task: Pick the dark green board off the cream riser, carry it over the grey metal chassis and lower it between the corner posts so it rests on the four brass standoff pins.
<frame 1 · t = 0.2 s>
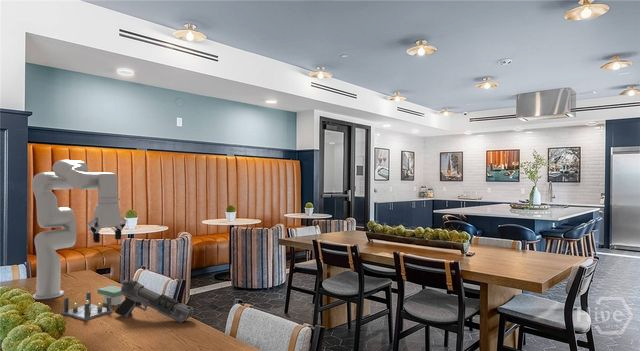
hand: (107, 240, 172), 30 cm above the table, tool pointing down, fingers open, 9 cm apart
riser: (112, 303, 182), on the table
firearm: (153, 319, 163), on the table
board: (112, 293, 182), point 4 cm above the table, touching riser
chassis: (87, 312, 169), on the table
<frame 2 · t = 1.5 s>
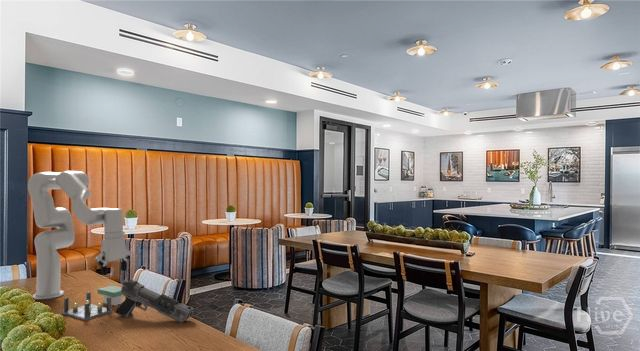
hand: (114, 272, 182), 14 cm above the table, tool pointing down, fingers open, 9 cm apart
nothing on the table moved.
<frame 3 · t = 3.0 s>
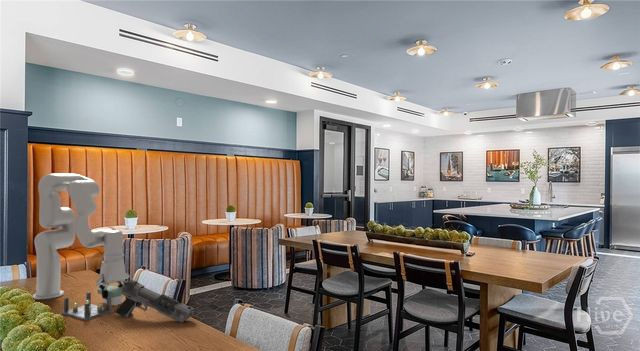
hand: (112, 295, 182), 3 cm above the table, tool pointing down, fingers closed on board, 7 cm apart
board: (112, 293, 182), point 5 cm above the table, touching gripper, riser
everything else where it was.
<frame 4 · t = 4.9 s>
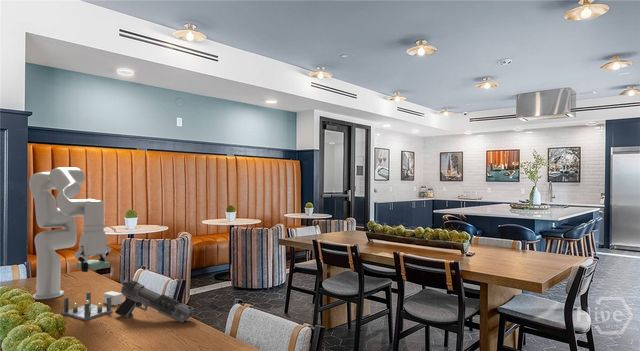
hand: (93, 269, 172), 18 cm above the table, tool pointing down, fingers closed on board, 7 cm apart
board: (93, 266, 172), point 19 cm above the table, touching gripper
everything else where it was.
when the fingers open (4 cm above the table, at t = 7.3 s): board drops 1 cm, resting on chassis.
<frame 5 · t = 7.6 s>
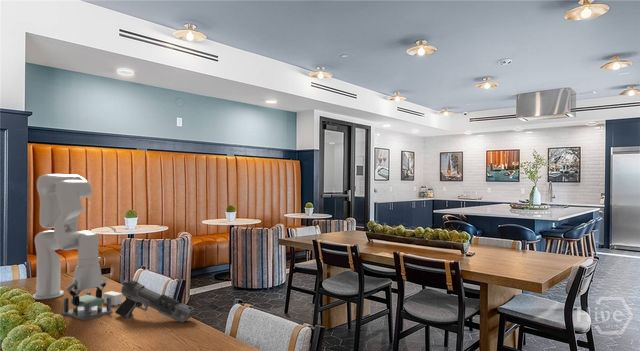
hand: (87, 302, 169), 4 cm above the table, tool pointing down, fingers open, 9 cm apart
board: (87, 303, 169), point 4 cm above the table, touching chassis
everything else where it was.
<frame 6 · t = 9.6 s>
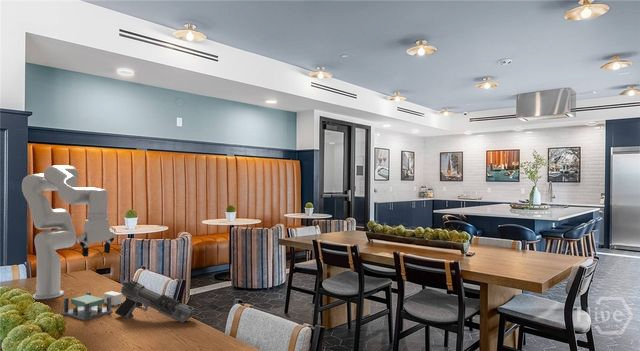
hand: (96, 254, 178), 23 cm above the table, tool pointing down, fingers open, 9 cm apart
nothing on the table moved.
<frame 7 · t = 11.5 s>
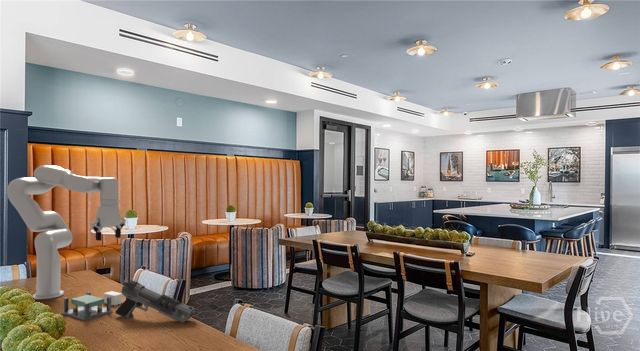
hand: (108, 238, 190), 28 cm above the table, tool pointing down, fingers open, 9 cm apart
nothing on the table moved.
at the end: board 0.0 cm off-centre on the chassis, point 4.0 cm above the chassis's base; board tilted 0°; the gripper is holding nothing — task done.
